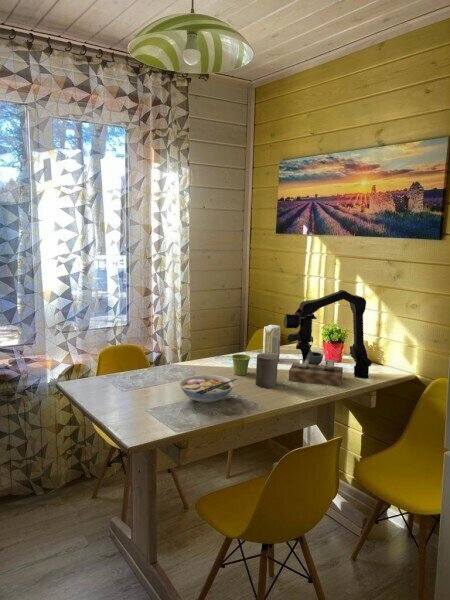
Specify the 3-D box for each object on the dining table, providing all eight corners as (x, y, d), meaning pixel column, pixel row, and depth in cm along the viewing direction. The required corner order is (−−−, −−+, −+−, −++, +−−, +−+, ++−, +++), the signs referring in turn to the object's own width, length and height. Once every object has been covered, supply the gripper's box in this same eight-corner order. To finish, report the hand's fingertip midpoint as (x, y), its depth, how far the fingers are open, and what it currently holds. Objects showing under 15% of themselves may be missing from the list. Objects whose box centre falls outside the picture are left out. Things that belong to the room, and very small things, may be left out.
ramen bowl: (205, 386, 227) (206, 369, 225) (246, 398, 212) (247, 380, 211) (165, 401, 207) (165, 382, 206) (207, 415, 193) (207, 395, 192)
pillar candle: (252, 385, 229) (253, 353, 227) (260, 379, 238) (262, 349, 236) (271, 389, 225) (273, 357, 223) (280, 383, 234) (281, 352, 231)
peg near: (333, 370, 240) (334, 360, 240) (333, 372, 237) (333, 362, 236) (325, 369, 242) (325, 359, 241) (324, 371, 238) (325, 361, 237)
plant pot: (250, 371, 251) (251, 354, 250) (249, 377, 242) (250, 359, 240) (231, 370, 252) (232, 353, 250) (230, 376, 243) (230, 358, 241)
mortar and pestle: (326, 368, 260) (327, 345, 258) (313, 371, 254) (315, 347, 252) (309, 362, 269) (310, 340, 267) (297, 365, 263) (298, 343, 261)
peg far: (308, 369, 244) (308, 359, 243) (307, 371, 240) (307, 361, 239) (299, 368, 245) (300, 358, 244) (298, 370, 241) (299, 360, 240)
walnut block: (342, 377, 245) (342, 367, 244) (340, 386, 232) (341, 375, 231) (292, 372, 251) (293, 362, 250) (288, 380, 238) (289, 370, 237)
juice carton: (280, 360, 273) (282, 325, 270) (273, 363, 265) (275, 328, 262) (268, 357, 276) (269, 323, 273) (260, 361, 269) (262, 326, 266)
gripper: (291, 323, 250) (290, 353, 252) (285, 330, 232) (284, 363, 235) (314, 324, 247) (312, 355, 250) (310, 332, 229) (308, 366, 232)
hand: (304, 360), depth 242 cm, fingers closed, pressing on peg far
